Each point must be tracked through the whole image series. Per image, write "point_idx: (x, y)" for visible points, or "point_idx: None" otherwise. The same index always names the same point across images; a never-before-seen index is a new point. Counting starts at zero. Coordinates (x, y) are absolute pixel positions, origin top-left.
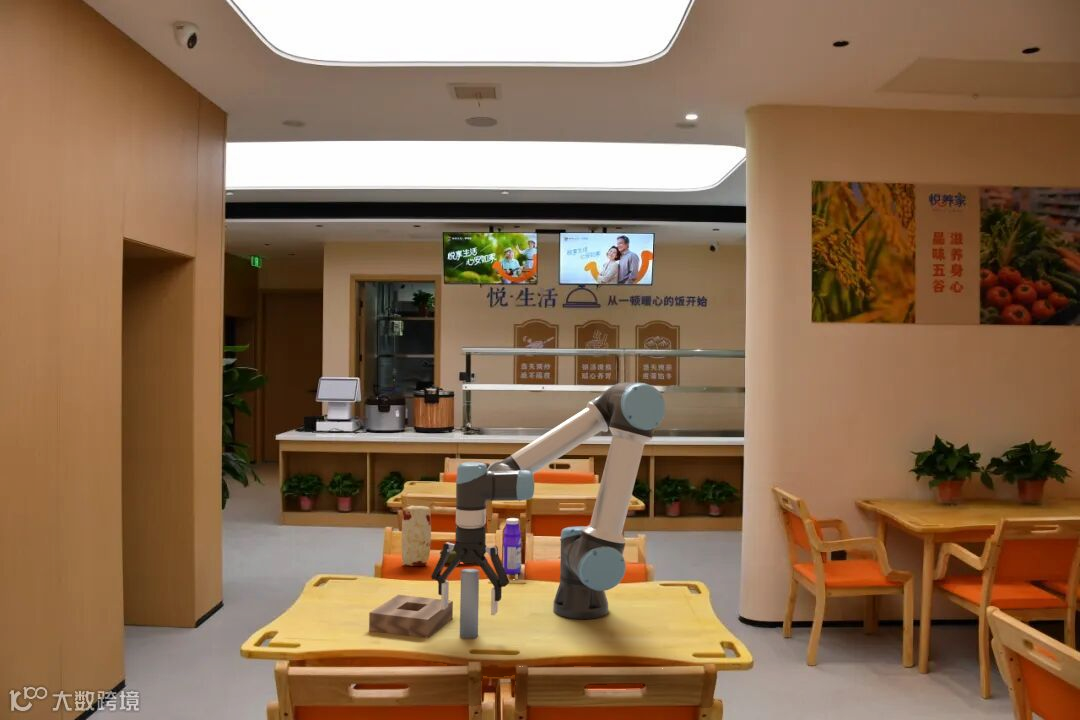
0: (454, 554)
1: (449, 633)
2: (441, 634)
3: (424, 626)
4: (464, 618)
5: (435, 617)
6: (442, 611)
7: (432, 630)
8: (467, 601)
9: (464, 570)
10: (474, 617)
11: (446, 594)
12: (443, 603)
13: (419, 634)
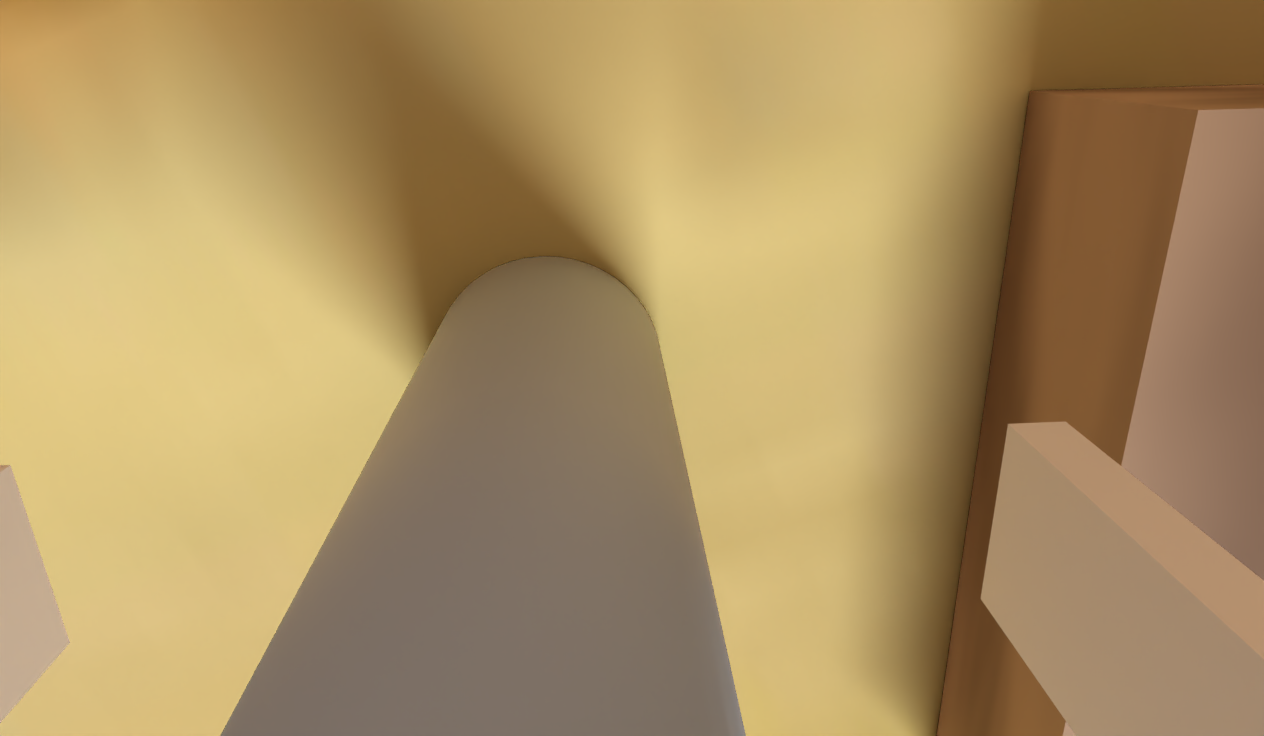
0: None
1: (803, 344)
2: (887, 278)
3: (1170, 101)
4: (550, 345)
5: (1092, 411)
6: None
7: (1026, 264)
8: (446, 513)
9: None
10: (389, 422)
11: (1154, 709)
12: (1089, 483)
13: (1165, 88)
